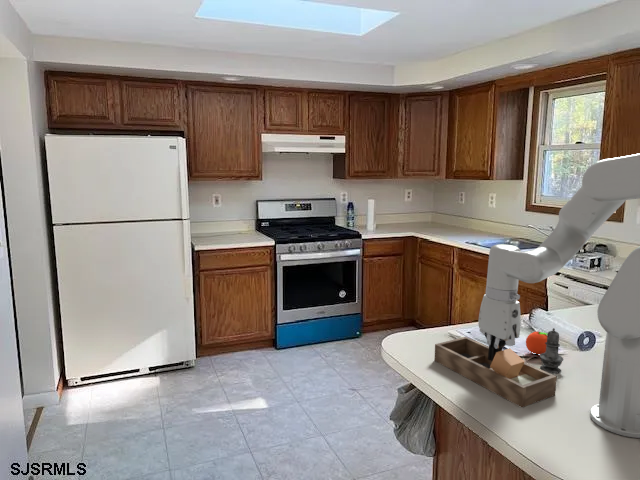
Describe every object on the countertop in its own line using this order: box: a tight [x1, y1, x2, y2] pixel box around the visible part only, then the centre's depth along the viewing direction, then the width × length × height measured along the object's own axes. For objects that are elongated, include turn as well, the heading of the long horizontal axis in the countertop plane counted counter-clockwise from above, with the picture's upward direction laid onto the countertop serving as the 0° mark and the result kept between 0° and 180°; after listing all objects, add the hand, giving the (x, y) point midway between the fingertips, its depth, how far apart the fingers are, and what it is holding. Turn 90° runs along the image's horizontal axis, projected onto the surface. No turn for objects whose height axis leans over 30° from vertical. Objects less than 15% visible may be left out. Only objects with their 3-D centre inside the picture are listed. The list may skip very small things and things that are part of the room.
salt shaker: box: [539, 327, 564, 375], centre depth 130 cm, size 6×6×12 cm
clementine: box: [525, 331, 548, 354], centre depth 140 cm, size 8×7×7 cm
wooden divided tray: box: [434, 336, 558, 408], centre depth 127 cm, size 30×12×5 cm, turn 28°
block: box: [490, 348, 526, 379], centre depth 121 cm, size 5×5×5 cm
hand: (494, 359), depth 125 cm, fingers closed
